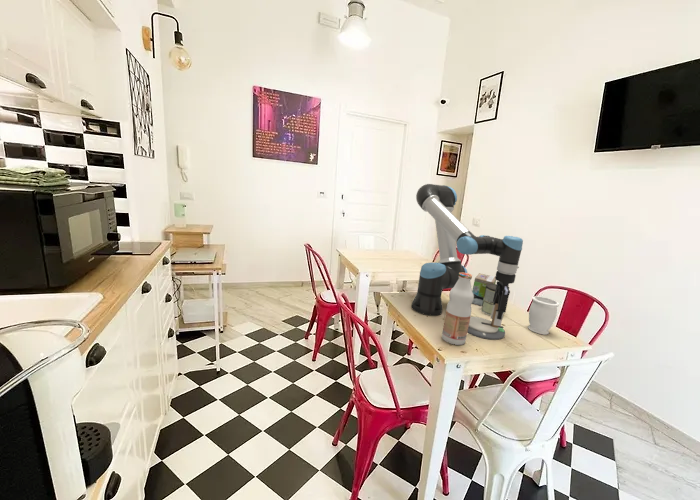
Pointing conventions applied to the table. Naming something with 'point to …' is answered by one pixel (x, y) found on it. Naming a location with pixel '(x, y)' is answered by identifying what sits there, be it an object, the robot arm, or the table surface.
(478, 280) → the tea box
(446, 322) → the fruit juice
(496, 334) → the dial base
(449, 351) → the table surface
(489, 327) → the tuner dial
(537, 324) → the jar
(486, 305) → the coffee can
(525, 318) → the table surface
